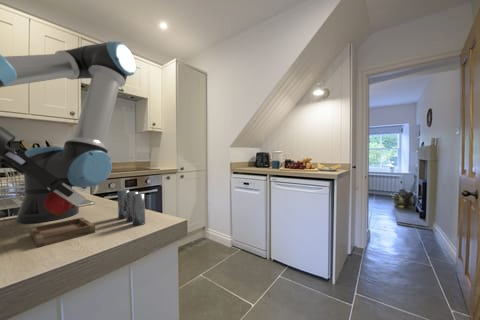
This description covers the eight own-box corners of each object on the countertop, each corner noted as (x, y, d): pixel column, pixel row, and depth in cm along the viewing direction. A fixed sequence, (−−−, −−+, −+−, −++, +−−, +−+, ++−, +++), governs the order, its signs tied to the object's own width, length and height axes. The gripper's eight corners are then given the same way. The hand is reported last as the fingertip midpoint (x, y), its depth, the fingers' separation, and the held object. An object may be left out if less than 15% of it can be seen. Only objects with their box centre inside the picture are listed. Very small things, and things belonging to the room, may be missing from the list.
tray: (29, 235, 52) (29, 227, 52) (82, 223, 61) (82, 217, 60) (37, 247, 45) (37, 238, 45) (95, 232, 54) (95, 225, 54)
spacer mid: (124, 220, 64) (124, 192, 64) (135, 217, 67) (135, 190, 66) (129, 222, 62) (129, 193, 62) (140, 219, 64) (140, 192, 64)
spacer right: (130, 224, 60) (129, 194, 60) (141, 221, 63) (141, 192, 63) (135, 226, 58) (135, 195, 58) (147, 223, 61) (146, 194, 61)
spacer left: (116, 217, 66) (116, 190, 66) (127, 215, 69) (126, 189, 69) (120, 219, 64) (120, 192, 64) (131, 217, 67) (131, 190, 67)
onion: (79, 213, 55) (79, 183, 55) (58, 219, 49) (58, 187, 49) (60, 212, 55) (60, 183, 55) (37, 218, 50) (37, 186, 49)
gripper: (-42, 148, 45) (56, 206, 59) (-47, 146, 34) (75, 218, 47) (-5, 127, 49) (78, 186, 63) (1, 119, 38) (101, 193, 51)
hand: (77, 200), depth 55 cm, fingers closed on onion, 6 cm apart
